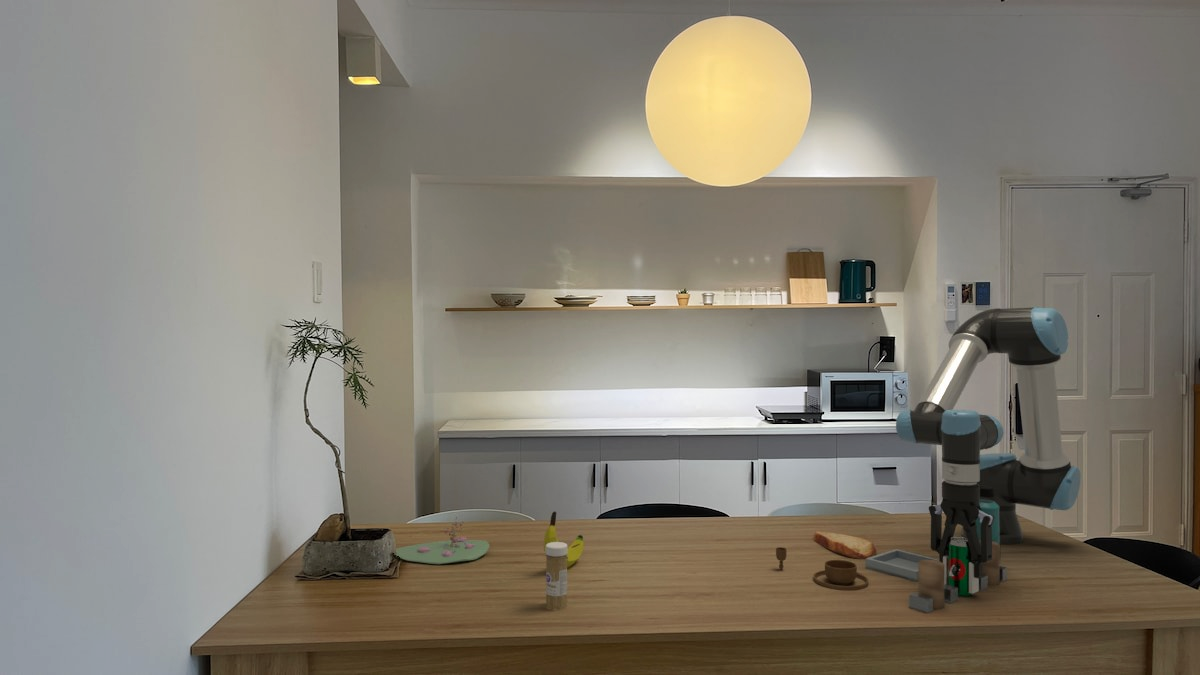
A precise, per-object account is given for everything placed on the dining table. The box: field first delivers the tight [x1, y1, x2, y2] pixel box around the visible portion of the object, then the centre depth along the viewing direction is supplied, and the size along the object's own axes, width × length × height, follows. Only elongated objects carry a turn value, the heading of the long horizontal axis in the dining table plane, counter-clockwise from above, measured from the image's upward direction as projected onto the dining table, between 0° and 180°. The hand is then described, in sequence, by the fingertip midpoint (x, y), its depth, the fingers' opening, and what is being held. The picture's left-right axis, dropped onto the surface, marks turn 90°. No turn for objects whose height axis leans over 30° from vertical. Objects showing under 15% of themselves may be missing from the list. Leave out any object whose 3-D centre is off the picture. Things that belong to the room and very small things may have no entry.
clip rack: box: [908, 565, 1008, 614], centre depth 168 cm, size 34×4×3 cm, turn 128°
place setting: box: [775, 546, 869, 591], centre depth 179 cm, size 18×20×6 cm
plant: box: [395, 517, 490, 565], centre depth 202 cm, size 25×21×9 cm
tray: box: [865, 548, 939, 583], centre depth 184 cm, size 13×13×2 cm
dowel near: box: [917, 560, 945, 610], centre depth 160 cm, size 5×5×9 cm
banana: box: [543, 511, 585, 569], centre depth 187 cm, size 5×17×15 cm, turn 155°
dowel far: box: [979, 540, 1001, 587], centre depth 175 cm, size 5×5×9 cm
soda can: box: [948, 536, 974, 598], centre depth 168 cm, size 5×5×12 cm
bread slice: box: [812, 530, 877, 560], centre depth 204 cm, size 18×18×4 cm
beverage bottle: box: [975, 486, 1002, 561], centre depth 184 cm, size 6×7×20 cm
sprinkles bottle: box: [544, 541, 568, 612], centre depth 160 cm, size 5×5×14 cm
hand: (960, 588), depth 168 cm, fingers closed on soda can, 5 cm apart
